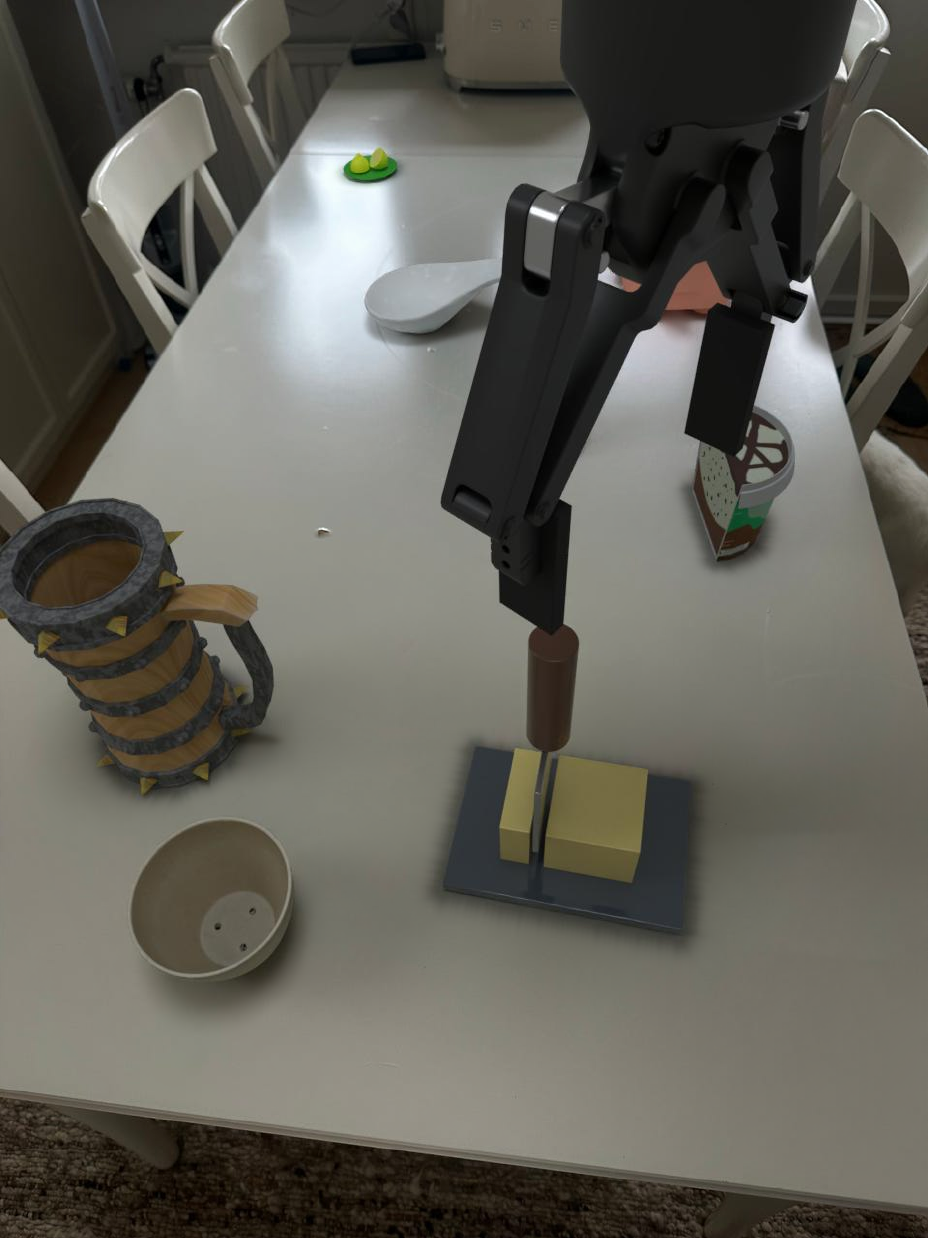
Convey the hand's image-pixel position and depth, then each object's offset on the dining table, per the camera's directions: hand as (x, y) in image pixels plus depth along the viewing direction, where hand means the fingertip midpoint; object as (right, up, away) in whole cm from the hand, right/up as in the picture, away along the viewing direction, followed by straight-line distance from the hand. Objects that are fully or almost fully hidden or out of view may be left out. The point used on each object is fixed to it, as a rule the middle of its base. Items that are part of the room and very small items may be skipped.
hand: (629, 521), depth 38 cm
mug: (-28, -13, +31) cm, 43 cm away
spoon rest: (-7, +31, +65) cm, 72 cm away
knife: (-2, -16, +19) cm, 25 cm away
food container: (+18, +5, +42) cm, 46 cm away
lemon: (-21, +62, +90) cm, 112 cm away
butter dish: (0, -20, +23) cm, 31 cm away
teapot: (+18, +35, +66) cm, 77 cm away
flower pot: (-22, -25, +20) cm, 40 cm away
